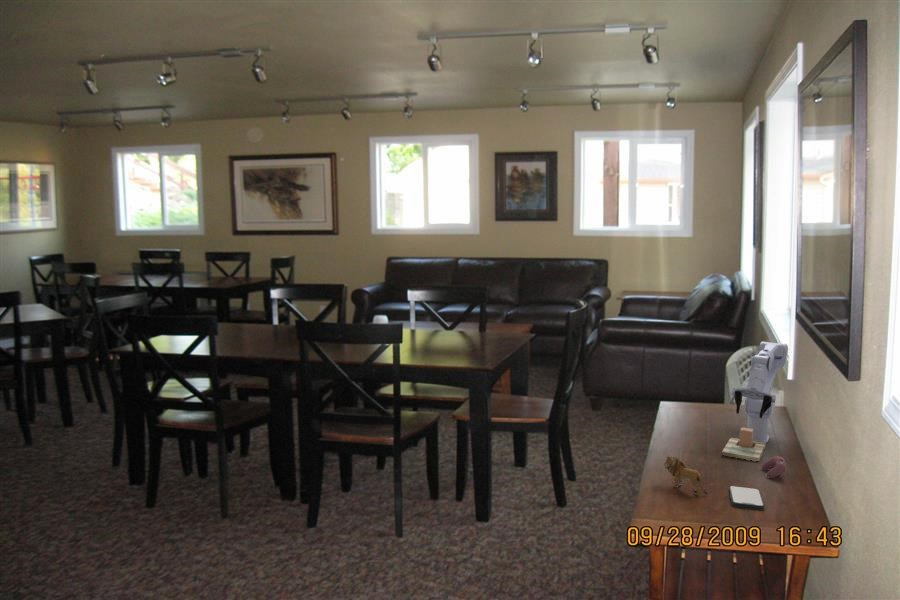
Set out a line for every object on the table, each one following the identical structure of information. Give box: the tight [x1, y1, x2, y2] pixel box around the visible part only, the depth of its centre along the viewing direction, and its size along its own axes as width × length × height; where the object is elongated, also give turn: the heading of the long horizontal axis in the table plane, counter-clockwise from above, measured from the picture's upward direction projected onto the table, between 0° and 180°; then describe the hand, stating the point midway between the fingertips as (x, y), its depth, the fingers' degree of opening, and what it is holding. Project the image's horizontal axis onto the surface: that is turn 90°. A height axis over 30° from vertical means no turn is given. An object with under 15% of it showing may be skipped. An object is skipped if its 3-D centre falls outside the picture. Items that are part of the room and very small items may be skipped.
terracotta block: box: [738, 426, 754, 448], centre depth 289 cm, size 4×4×7 cm
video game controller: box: [761, 455, 787, 479], centre depth 262 cm, size 10×5×7 cm, turn 169°
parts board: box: [721, 437, 767, 462], centre depth 286 cm, size 20×12×2 cm, turn 153°
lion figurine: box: [663, 455, 709, 496], centre depth 245 cm, size 15×5×9 cm, turn 43°
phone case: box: [728, 485, 765, 511], centre depth 239 cm, size 9×2×16 cm
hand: (748, 414), depth 284 cm, fingers open, 7 cm apart
